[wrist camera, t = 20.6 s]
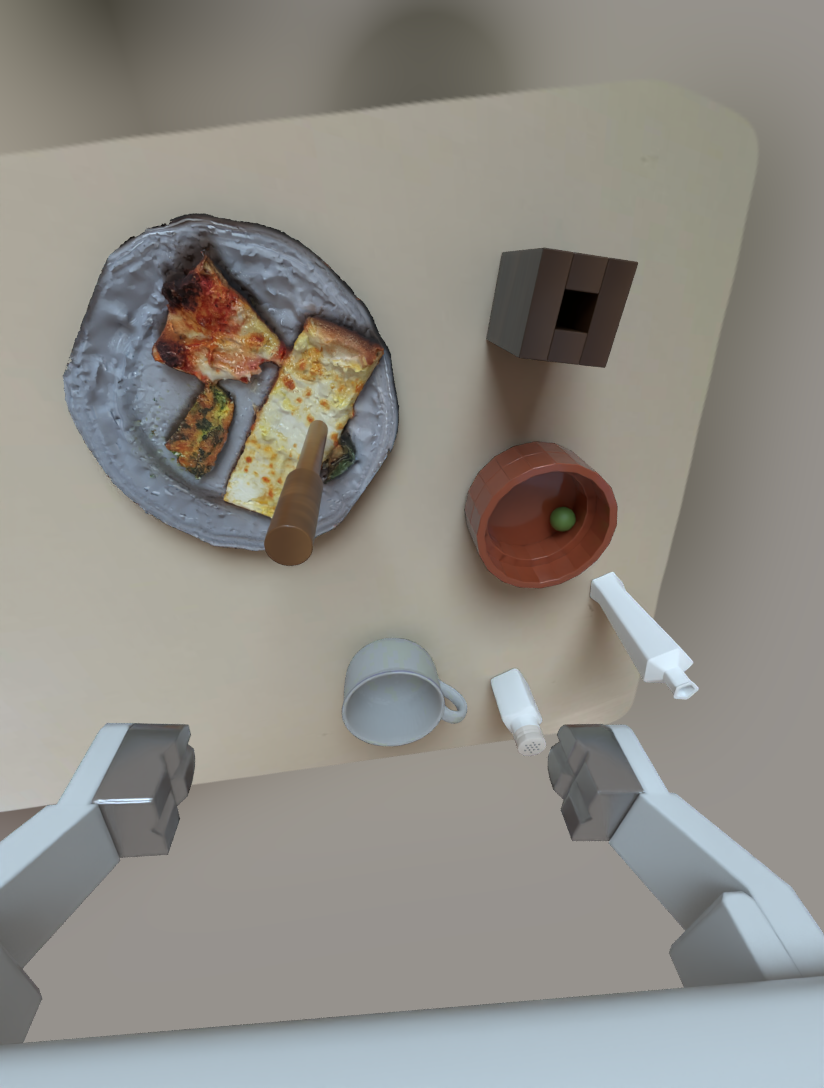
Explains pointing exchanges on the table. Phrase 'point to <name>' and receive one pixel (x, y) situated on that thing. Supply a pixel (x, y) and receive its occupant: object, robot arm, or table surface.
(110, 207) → the table surface
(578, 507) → the bowl
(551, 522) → the bead
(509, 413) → the table surface
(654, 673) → the white faceted bottle
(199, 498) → the food plate
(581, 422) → the table surface
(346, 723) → the teacup
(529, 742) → the salt shaker
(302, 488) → the stirring stick
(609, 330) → the utensil block
